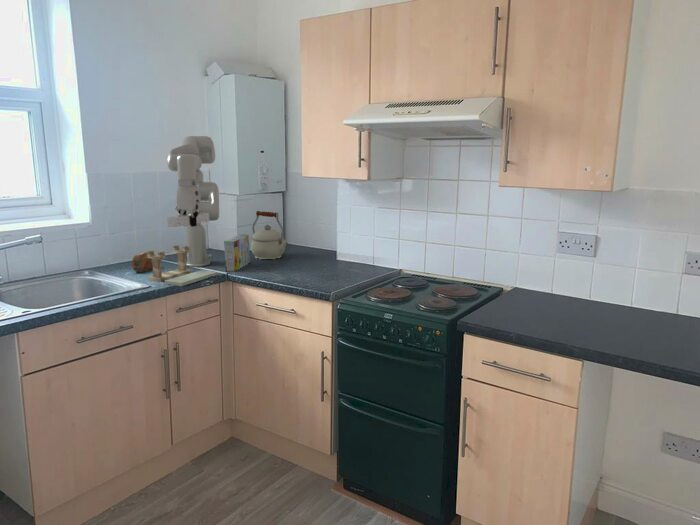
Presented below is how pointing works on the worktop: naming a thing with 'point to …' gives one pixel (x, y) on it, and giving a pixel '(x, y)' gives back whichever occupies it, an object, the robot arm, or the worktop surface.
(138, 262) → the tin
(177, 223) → the rail
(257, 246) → the kettle
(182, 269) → the rack
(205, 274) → the board
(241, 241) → the snack box
